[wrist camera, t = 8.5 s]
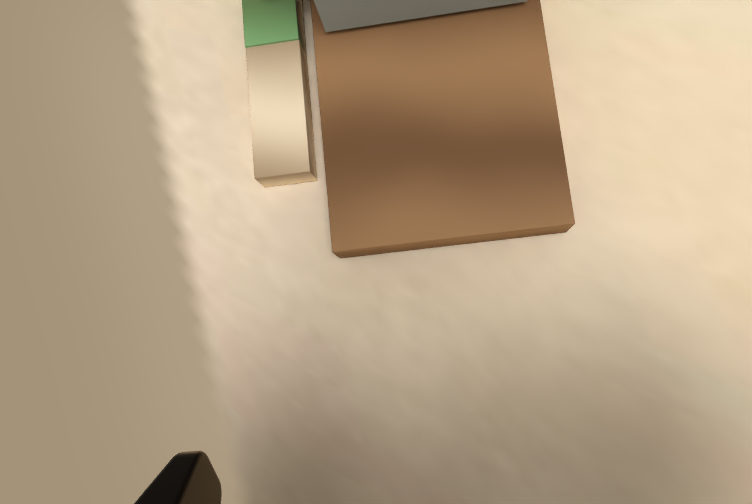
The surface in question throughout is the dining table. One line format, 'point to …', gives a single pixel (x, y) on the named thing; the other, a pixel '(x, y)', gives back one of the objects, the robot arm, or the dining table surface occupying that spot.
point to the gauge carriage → (391, 10)
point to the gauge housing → (413, 124)
